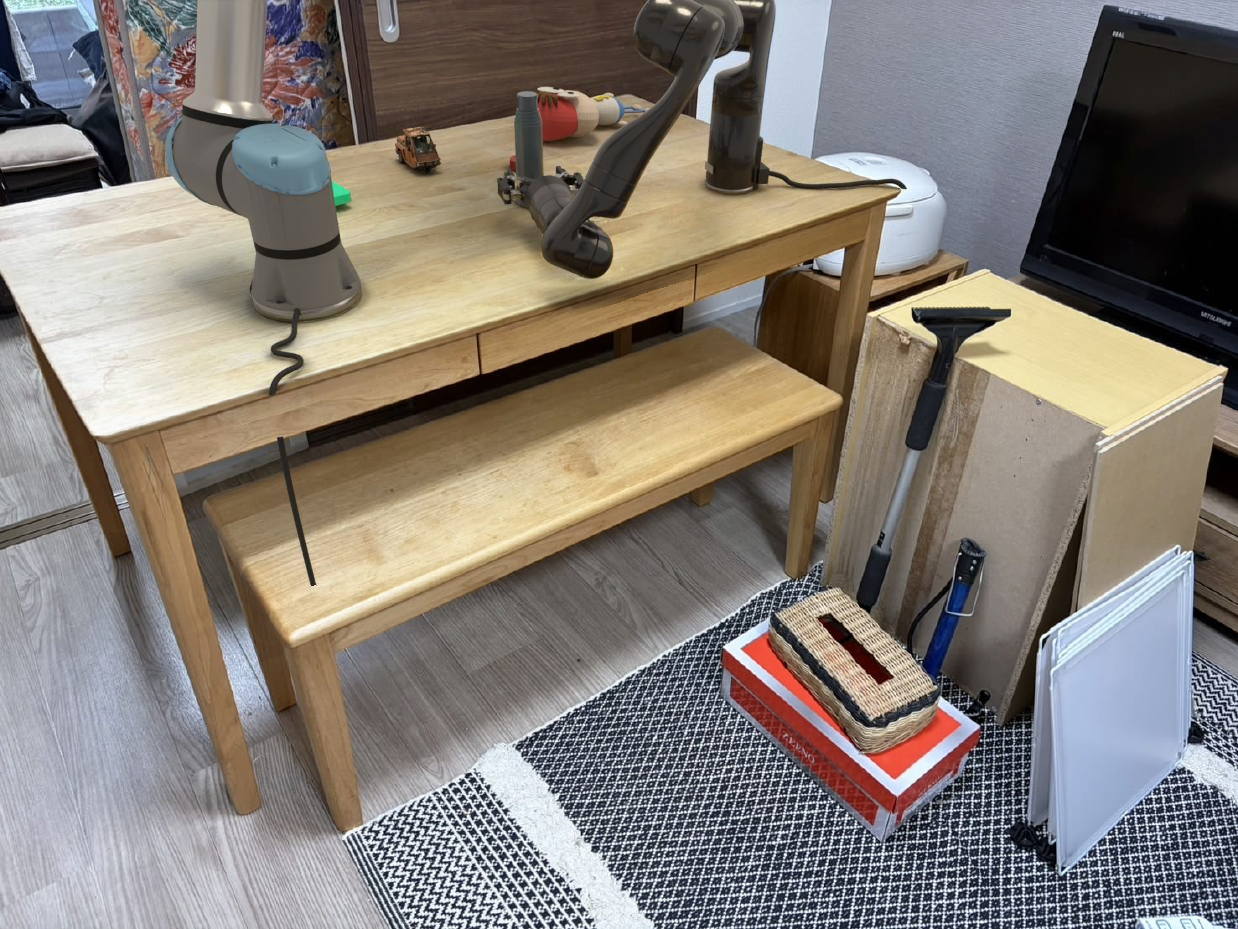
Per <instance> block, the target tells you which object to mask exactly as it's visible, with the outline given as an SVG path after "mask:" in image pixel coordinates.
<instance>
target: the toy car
mask: <svg viewBox="0 0 1238 929" xmlns="http://www.w3.org/2000/svg"><path fill="white" fill-rule="evenodd" d="M402 131H403V133H404V135H399V136H397V138H396V142H395V143H394V146H395V148H394V149H395V153H396V155H398V156H397V157H398V160H399V163H404V164H407V166H409V167H410V168H412V169H413V170H415V171H419V170H422V169H424V170H425V173H427V174H430V173H431V172H432V169H434V168H436V167H439V166H441V165H442V162H441V160H442V158H441V157H439V153H438V151H437V144H436V143H434V141H433V139H432V137H431V133H430V132H429V131H428V130H427V129H426V128H425V127H424V126H417V127H410V128H403V129H402Z"/></svg>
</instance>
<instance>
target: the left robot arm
mask: <svg viewBox="0 0 1238 929" xmlns="http://www.w3.org/2000/svg"><path fill="white" fill-rule="evenodd" d="M196 7H197V8H196V9H197V13H196V14H197V15H196V46H195V48H196V49H195V78H194V79H195V80H194V82H195V83H194V91H193V92H192V93H190V95H188V96H187V97H186V98H184V99H183V100H182V111H181V113H182V114H181V115H182V116H181V117H180V118H179V119H178V120H176V122H175V124H174V126H172V127H170V129H169V131H168V132H167V135H166V139H165V144H164V145H165V146H164V154H165V155H164V156H165V161H166V165H167V167H168V171H169V172H170V174H171V176H172V177H173V180H175V182H176V183H177V184H178V185H179V186H180V187H181V188H182V189H183V190H184V191H186V192H187V193H188V194H190V195H192V196H193V197H195V198H196V199H198V200H199V201H201V202H203V203H205V204H208V205H210V206H214V207H218V208H221V209H222V210H226V211H227V212H230V213H232V214H235V215H237V216H241V217H243V218H245V219H247V221H248V224H249V228H250V233H251V237H252V242H253V247H254V251H255V258H254V264H253V273H252V279H251V282H250V285H249V294H250V295H251V299H252V303H253V307H254V309H255V310H256V311H257V313H259V314H260V315H262V316H264V317H266V318H268V319H271V320H275V321H281V322H289V323H291V327H290V329H291V330H290V334H289V336H287V337H286V338H284V339H282V340H279V341H277V342H274V343H273V344H272V345H271V346H270V352H271V354H272V355H274V356H276V357H280V358H285V359H292V360H295V361H296V363H294V364H292V365H289V366H288V367H286V368H284V369H282V370H281V371H279V372H278V373H277V374H276V375H275V376H274V377H273V379H271V380H272V381H271V383H270V386H269V390H268V395H269V396H274V395H276V393H277V389H278V386H279V384H280V382H281V380H282V379H283V378H284V377H286V376H288V375H290V374H292V373H294V372H296V371H299V369H301V368H303V366H304V364H305V360H304V358H303V356H302V355H300V354H298V353H295V352H290V351H283V350H280V348H282V347H285V346H288V345H290V344H291V343H293V342H294V341H295V340H296V338H297V335H298V325H299V323H304V322H314V321H315V322H316V321H320V320H326V319H330V318H332V317H336V316H338V315H341V314H343V313H345V312H348V311H349V310H351V309H353V308H354V307H355V306H356V305H357V304H358V303H359V302H360V301H361V298H362V297H363V287H362V282H361V278H360V276H359V274H358V272H357V270H356V268H355V266H354V264H353V263H352V261H351V259H350V257H349V255H348V253H347V251H346V250H345V248H344V245H343V243H342V239H341V233H340V225H339V220H338V214H337V207H336V206H335V200H334V193H333V187H332V181H333V180H332V168H331V165H330V162H329V159H328V154H327V152H326V148H325V145H324V144H323V142H322V140H321V139H320V138H319V137H318V136H317V135H315V134H314V133H313V132H311V131H309V130H307V129H304V128H302V127H300V126H296V125H292V124H291V125H290V124H286V125H281V124H280V123H273V120H274V117H273V115H272V114H271V112H270V111H269V110H268V109H267V108H266V106H265V105H264V103H263V97H264V96H263V94H264V93H263V92H264V77H265V76H264V74H265V55H266V38H267V36H266V35H267V20H268V19H267V18H268V0H197V6H196ZM276 440H277V446H278V452H279V457H280V463H281V468H282V473H283V477H284V481H285V486H286V492H287V495H288V499H289V503H290V508H291V512H292V517H293V522H294V525H295V529H296V533H297V537H298V541H299V545H300V550H301V553H302V557H303V561H304V566H305V570H306V573H307V577H308V582H309V585H311V586H314V585H316V586H317V582H316V579H315V573H314V568H313V565H312V562H311V557H310V554H309V549H308V545H307V542H306V536H305V533H304V528H303V525H302V520H301V517H300V512H299V507H298V503H297V498H296V494H295V489H294V484H293V481H292V480H293V479H292V475H291V470H290V464H289V459H288V455H287V450H286V444H285V439H284V436H276ZM311 586H310V587H311Z"/></svg>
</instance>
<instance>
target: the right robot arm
mask: <svg viewBox="0 0 1238 929" xmlns="http://www.w3.org/2000/svg"><path fill="white" fill-rule="evenodd" d="M776 14H777V8H776V2H775V0H646V3H644V4H643V6H642V7H641V9H640V10H639V12H638V15H637V17H636V20H635V22H634V26H633V35H632V40H633V46H634V48H635V51H636V52H637V53H638V55H640V57H641V58H643V59H644V60H645V61H647V62H648V63H650V64H652V65H654V66H655V67H657V68H658V69H660V70H662V71H664V72H666V73H668V74H670V75H671V76H673V77H674V79H673V81H672V82H671V84H670V86H669V87H668V89H667V90H666V91H665V93H664V94H663V96H662V97H661V98H660V99H658V101H657V102H656V103H655V104H653V105H652V106H651V107H649V108H650V109H648V110H647V111H646V112H642V113H641V114H640V115H638V116H637V117H636V118H634V119H632V120H631V121H629V122H627V124H626V125H624V126H620V128H618V129H617V130H615V131H614V132H613V133H612V134H610V135H609V137H607V138H606V139H605V141H604V142H603V143H602V144H601V146H600V147H599V148H598V150H597V152H596V153H595V156H594V157H593V160H592V161H591V164H590V166H589V168H588V170H587V172H586V174H585V176H584V178H583V176H582V173H581V172H578V171H576V172H573V173H572V174H570V172H569V171H567V170H566V169H565V168H563V167H561V165H556V166H555V174H554V175H551V174H550V175H549V174H546V175H544V176H542V177H539V178H537V179H536V178H534V179H531V178H527V177H524V176H521V177H516V176H515V175H516V174H514V171H513V170H511V169H510V168H508V169H506V171H505V172H504V173H503V177H497V178H496V183H497V194H498V197H499V198H500V199H501V201H502V202H503V204H504V205H507V206H508V205H512V204H513V201H514V200H517V199H520V200H521V201H523V202H525V204H526V206H527V207H526V209H527V210H528V212H529V214H530V217H531V220H532V221H533V222H534V224H535V226H536V227H537V228H538V230H539V231H540V232H541V234H542V237H541V241H540V252H541V256H542V258H543V259H544V261H545V262H546V263H548V264H550V265H551V266H554V267H556V268H558V269H559V268H560V269H562V270H564V271H566V272H568V273H570V274H573V275H576V276H578V277H580V278H583V279H587V280H595V279H596V280H597V279H599V278H600V277H603V276H604V275H605V274H606V273H607V272H608V271H609V270H610V268H611V266H612V264H613V260H614V246H613V242H612V239H611V238H610V236H609V235H608V233H606V231H604V229H602V228H601V227H600V226H599V225H598V224H596V223H595V222H594V221H592V220H591V219H592V218H602V219H603V218H604V219H611V220H617V219H619V218H621V216H622V214H623V213H624V212H625V210H626V208H627V205H628V204H629V202H630V200H631V198H632V195H633V193H634V192H635V190H636V188H637V185H638V184H639V182H640V180H641V178H642V176H643V174H644V172H645V171H646V168H648V165H649V163H650V162H651V160H652V158H653V157H654V155H655V153H656V152H657V151H658V149H659V147H660V145H661V144H662V143H663V141H664V139H665V138H666V136H667V135H668V134H669V133H670V131H671V129H672V128H673V126H674V125H675V123H676V122H677V120H678V119H679V117H680V115H682V112H683V111H684V109H685V108H686V106H687V105H688V103H689V102H690V101H691V98H692V97H693V95H694V94H695V93H696V91H697V89H698V88H699V86H700V85H701V83H702V81H703V80H704V78H705V76H706V75H707V74H708V72H709V70H710V68H711V67H712V65H713V63H714V61H715V60H718V59H721V58H723V57H725V56H728V55H729V54H730V53H732V52H736V53H737V52H739V53H748V54H749V58H748V60H747V61H745V62H743V63H742V64H740V65H737V66H734V67H730V68H726V69H722V70H720V71H719V72H717V73H716V74H715V76H714V79H713V86H712V98H711V111H710V122H709V135H708V147H707V158H706V159H707V160H705V161H704V162H705V163H704V169H705V170H706V171H705V179H704V186H705V187H706V188H707V189H708V190H709V191H711V192H715V193H719V194H724V195H743V194H748V193H750V192H752V191H757V190H758V189H759V186H760V185H768V184H769V177H773V178H777V179H780V180H782V181H783V182H784V183H786V184H787V185H788V186H790V187H793V188H797V189H804V190H825V189H845V188H855V187H860V186H861V187H862V186H878V185H887V184H888V185H889V184H891V185H896V186H897V187H898V188H900V190H907V189H908V188H907V186H906V184H905V183H904V182H902V181H901V180H899V179H896V178H881V179H865V180H864V179H863V180H855V181H854V180H853V181H847V182H828V183H826V182H825V183H802V182H797V181H794V180H791V179H790V178H789V177H788V176H786V175H785V174H783V173H781V172H777V171H774V170H770V167H769V166H767V165H766V164H765V163H763V162H762V156H763V148H764V138H763V137H762V136H761V129H762V128H761V127H762V118H763V110H764V109H763V108H764V101H765V92H766V85H767V84H766V83H767V76H768V68H769V61H770V54H771V47H772V42H773V36H774V30H775V23H776ZM524 183H526V184H525V185H524ZM570 186H571V187H570Z"/></svg>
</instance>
